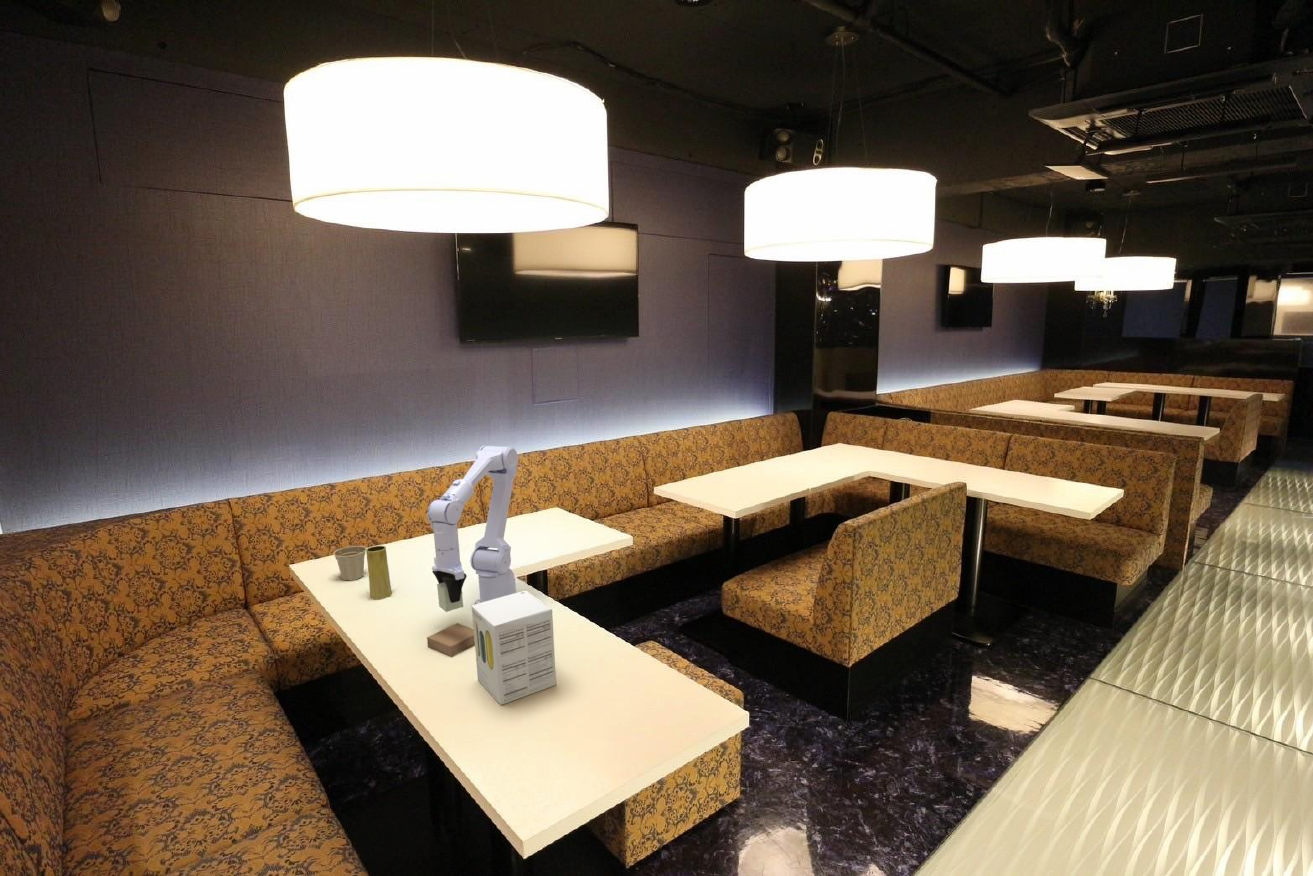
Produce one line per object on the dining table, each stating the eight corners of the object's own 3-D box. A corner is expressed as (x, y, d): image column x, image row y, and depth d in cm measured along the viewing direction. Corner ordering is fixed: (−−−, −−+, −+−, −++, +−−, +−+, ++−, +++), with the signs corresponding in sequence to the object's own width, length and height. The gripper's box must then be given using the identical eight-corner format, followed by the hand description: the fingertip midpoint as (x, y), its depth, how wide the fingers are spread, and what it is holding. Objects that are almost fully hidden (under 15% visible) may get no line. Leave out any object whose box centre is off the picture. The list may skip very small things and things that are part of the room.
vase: (384, 600, 190) (379, 552, 188) (365, 599, 192) (359, 551, 189) (396, 591, 196) (391, 545, 194) (377, 590, 197) (372, 544, 195)
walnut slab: (458, 634, 169) (457, 623, 168) (481, 643, 164) (480, 631, 163) (428, 648, 162) (426, 637, 161) (451, 658, 157) (450, 646, 156)
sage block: (456, 601, 172) (454, 579, 171) (463, 606, 169) (461, 584, 168) (439, 606, 170) (437, 584, 168) (446, 612, 166) (443, 589, 165)
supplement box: (475, 679, 146) (469, 604, 143) (531, 660, 154) (526, 589, 151) (499, 706, 136) (493, 626, 133) (558, 685, 143) (553, 608, 140)
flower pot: (375, 575, 210) (372, 548, 209) (348, 585, 202) (345, 558, 201) (357, 569, 215) (354, 544, 214) (330, 579, 207) (326, 553, 206)
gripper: (420, 543, 170) (425, 594, 172) (442, 558, 159) (447, 612, 161) (447, 537, 174) (451, 587, 176) (470, 551, 163) (474, 603, 165)
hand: (451, 598), depth 169 cm, fingers closed on sage block, 4 cm apart
